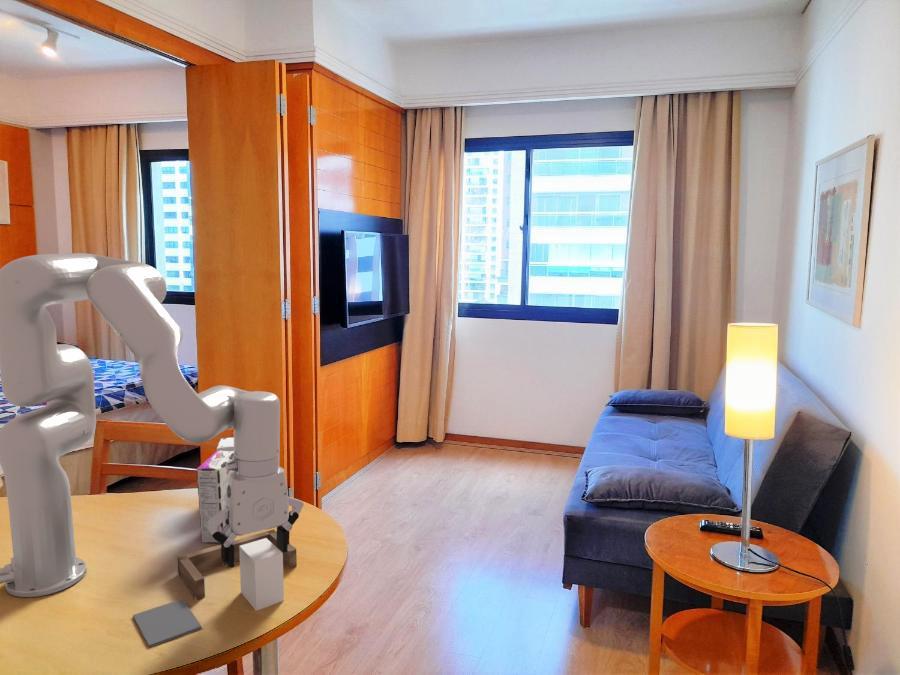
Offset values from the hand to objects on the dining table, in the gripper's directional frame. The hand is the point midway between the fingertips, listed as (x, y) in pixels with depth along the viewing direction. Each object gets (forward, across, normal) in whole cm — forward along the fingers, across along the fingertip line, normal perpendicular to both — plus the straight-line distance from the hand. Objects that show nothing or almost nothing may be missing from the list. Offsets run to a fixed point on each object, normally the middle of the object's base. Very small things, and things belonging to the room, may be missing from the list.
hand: (256, 556), depth 113 cm
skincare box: (+9, +12, +42) cm, 45 cm away
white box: (+7, +1, -1) cm, 8 cm away
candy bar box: (+8, +4, +28) cm, 30 cm away
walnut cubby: (+8, +1, +10) cm, 12 cm away
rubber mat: (+8, -15, +1) cm, 17 cm away
